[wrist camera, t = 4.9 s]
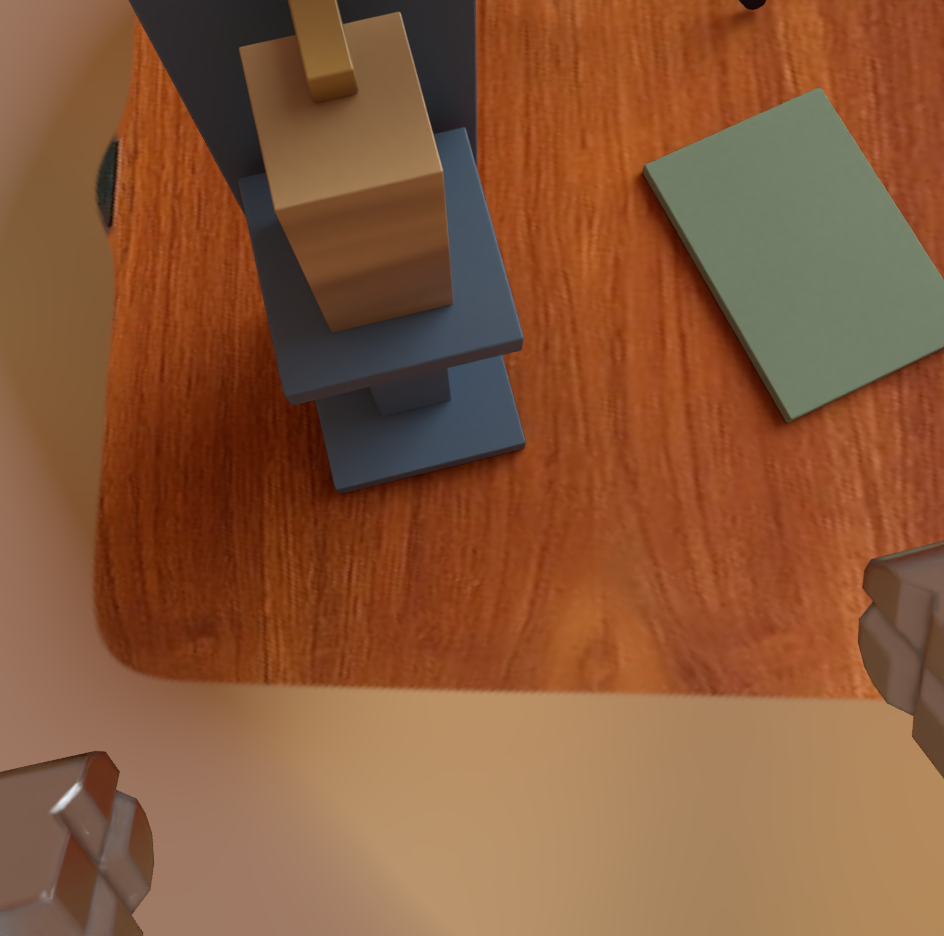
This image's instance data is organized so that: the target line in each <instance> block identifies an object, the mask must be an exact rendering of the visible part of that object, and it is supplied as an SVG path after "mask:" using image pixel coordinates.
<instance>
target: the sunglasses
mask: <svg viewBox="0 0 944 936" xmlns="http://www.w3.org/2000/svg"><path fill="white" fill-rule="evenodd" d="M739 1H740V2H741V3H742V4H743V5H744V6H745V7H746V8H747V9H750V10H754V9H758V8H760V7H761V6H763V5H764V4H765V2H766V0H739Z"/></svg>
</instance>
